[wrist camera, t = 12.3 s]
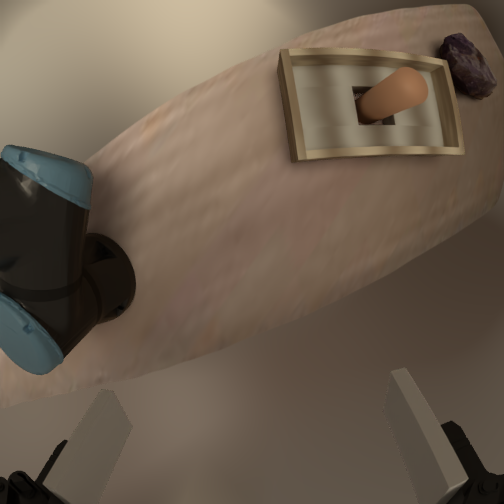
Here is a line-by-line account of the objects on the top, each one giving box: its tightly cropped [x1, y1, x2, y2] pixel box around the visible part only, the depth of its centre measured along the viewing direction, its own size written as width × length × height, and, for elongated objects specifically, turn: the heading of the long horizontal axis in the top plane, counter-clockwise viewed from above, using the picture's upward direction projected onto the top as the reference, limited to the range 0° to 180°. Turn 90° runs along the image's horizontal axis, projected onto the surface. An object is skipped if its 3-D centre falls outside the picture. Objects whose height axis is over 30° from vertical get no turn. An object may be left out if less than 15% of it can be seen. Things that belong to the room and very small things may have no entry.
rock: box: [440, 33, 497, 100], centre depth 29 cm, size 12×9×10 cm
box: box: [277, 48, 465, 163], centre depth 32 cm, size 24×14×8 cm, turn 98°
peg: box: [355, 67, 428, 124], centre depth 29 cm, size 4×4×15 cm
